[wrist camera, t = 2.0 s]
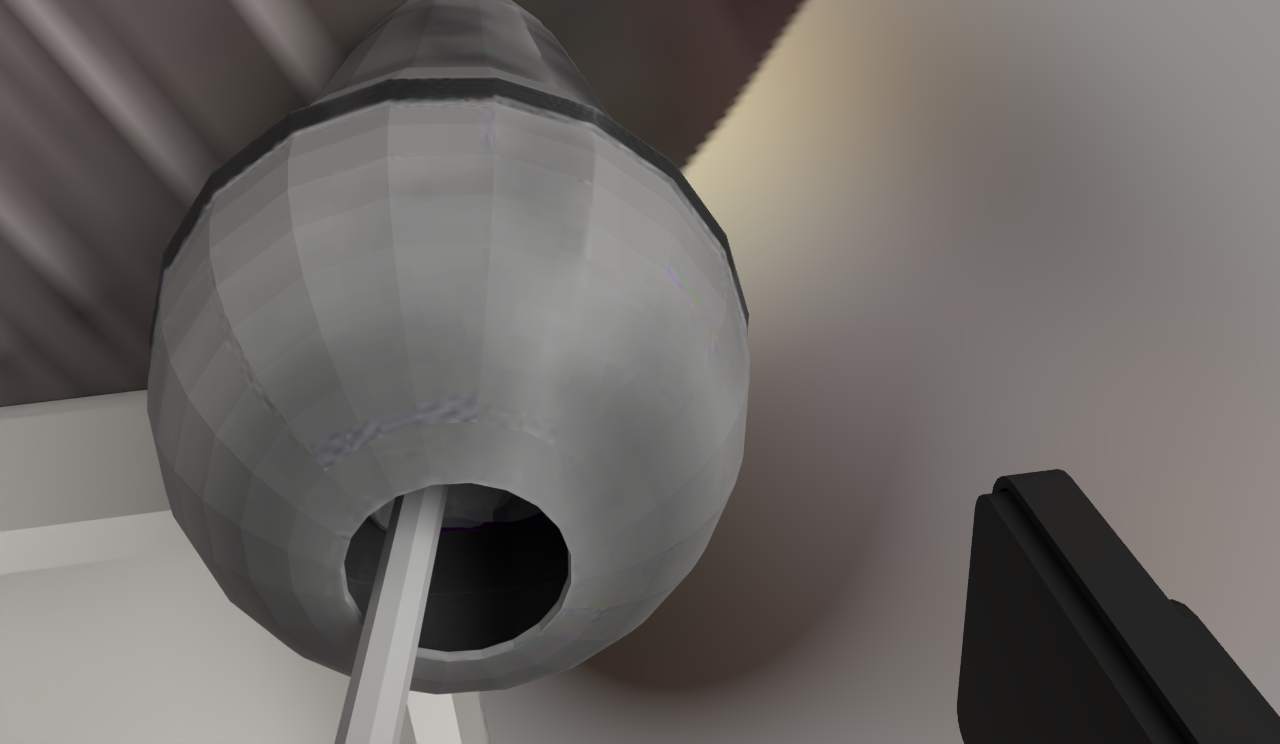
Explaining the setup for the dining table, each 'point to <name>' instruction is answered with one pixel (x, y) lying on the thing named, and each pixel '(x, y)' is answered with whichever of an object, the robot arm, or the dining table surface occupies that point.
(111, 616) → the white bin
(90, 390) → the dining table surface
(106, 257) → the dining table surface
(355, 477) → the beverage cup
